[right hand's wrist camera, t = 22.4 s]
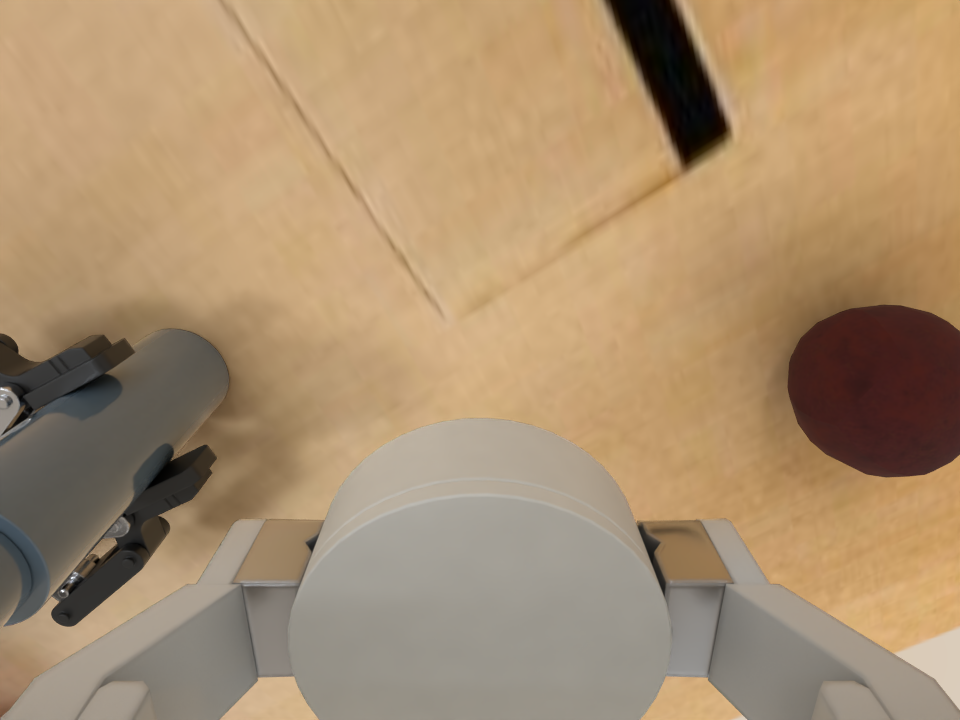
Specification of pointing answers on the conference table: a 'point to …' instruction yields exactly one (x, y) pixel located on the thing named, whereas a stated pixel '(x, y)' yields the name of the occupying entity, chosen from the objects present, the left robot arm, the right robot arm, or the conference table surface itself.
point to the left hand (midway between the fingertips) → (161, 409)
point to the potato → (880, 389)
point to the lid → (479, 585)
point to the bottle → (96, 460)
